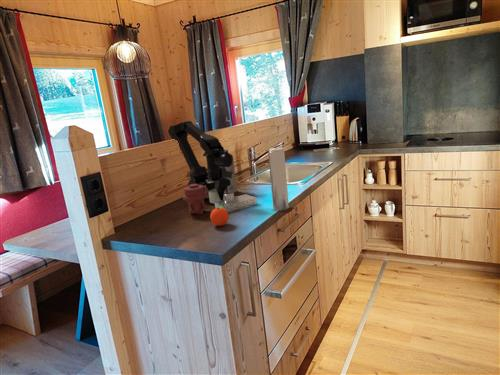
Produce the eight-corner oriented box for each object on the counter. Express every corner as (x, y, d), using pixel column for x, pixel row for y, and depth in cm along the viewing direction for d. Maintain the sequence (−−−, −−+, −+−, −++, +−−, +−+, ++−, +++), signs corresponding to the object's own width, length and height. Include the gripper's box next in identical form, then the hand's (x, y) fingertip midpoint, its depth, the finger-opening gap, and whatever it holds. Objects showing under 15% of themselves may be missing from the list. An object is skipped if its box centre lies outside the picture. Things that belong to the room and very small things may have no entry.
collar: (207, 201, 169) (205, 191, 167) (221, 197, 173) (220, 187, 171) (214, 204, 162) (213, 193, 161) (229, 200, 166) (227, 189, 165)
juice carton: (228, 194, 179) (223, 150, 174) (218, 193, 183) (213, 150, 178) (237, 191, 184) (232, 148, 179) (227, 190, 188) (222, 148, 183)
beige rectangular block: (215, 209, 158) (213, 194, 156) (246, 200, 166) (244, 186, 164) (225, 213, 150) (223, 198, 149) (256, 204, 158) (255, 189, 157)
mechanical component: (210, 213, 152) (187, 217, 149) (207, 207, 161) (184, 211, 159) (206, 185, 149) (182, 189, 146) (203, 180, 158) (180, 184, 156)
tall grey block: (279, 205, 153) (274, 147, 147) (292, 207, 149) (287, 147, 143) (270, 209, 148) (264, 149, 142) (283, 211, 144) (277, 149, 138)
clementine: (222, 220, 142) (220, 203, 140) (235, 222, 137) (233, 205, 136) (207, 227, 136) (205, 209, 134) (220, 229, 131) (218, 211, 130)
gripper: (239, 164, 160) (243, 198, 164) (219, 160, 175) (223, 191, 179) (217, 169, 154) (221, 204, 158) (198, 165, 170) (203, 196, 173)
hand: (217, 198), depth 167 cm, fingers closed on collar, 8 cm apart
